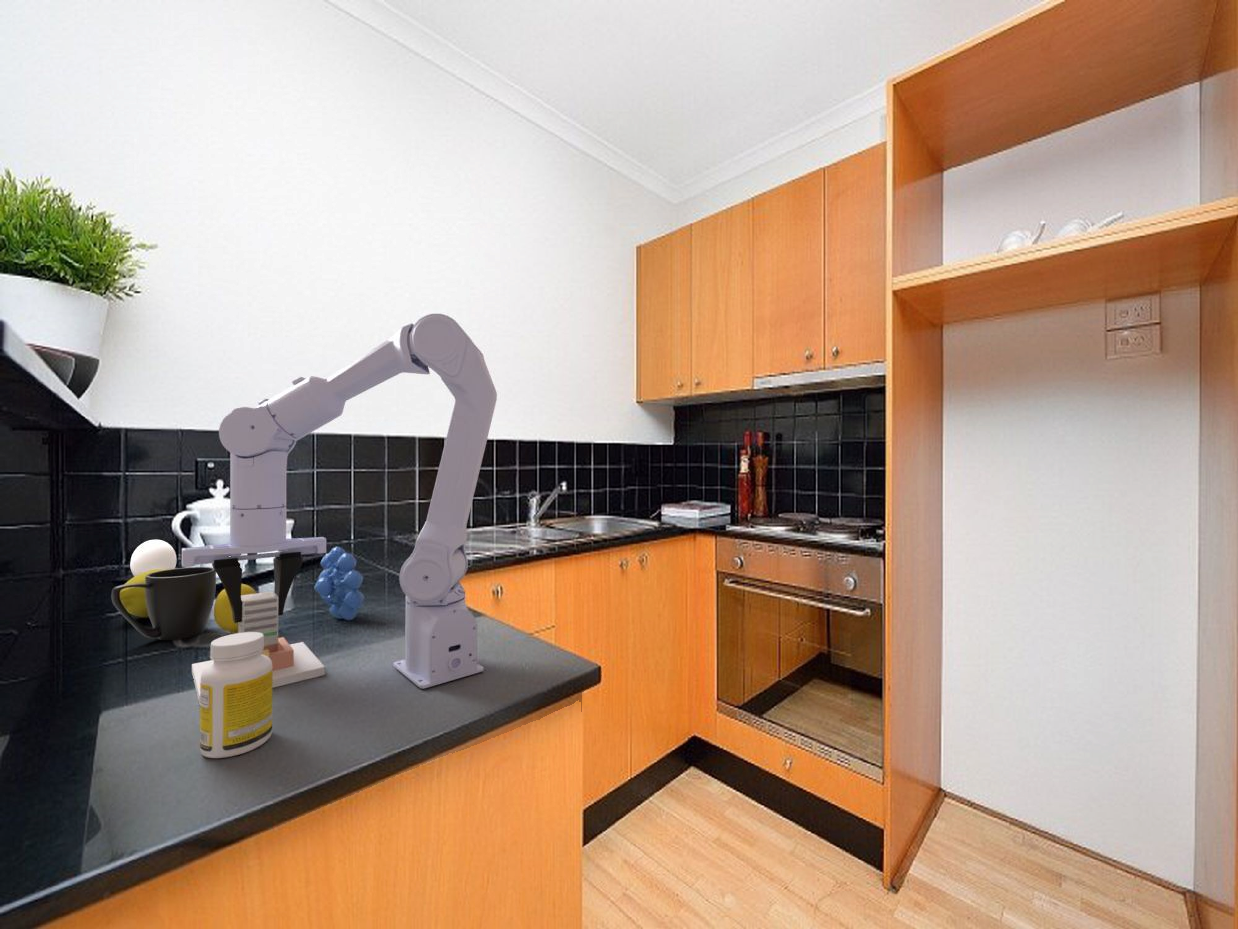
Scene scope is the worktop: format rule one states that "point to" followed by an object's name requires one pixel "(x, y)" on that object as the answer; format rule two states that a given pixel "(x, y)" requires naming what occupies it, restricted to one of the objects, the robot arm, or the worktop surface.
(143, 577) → the lemon
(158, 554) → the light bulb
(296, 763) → the worktop surface
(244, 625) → the column
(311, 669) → the stand base
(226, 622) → the lemon
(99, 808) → the worktop surface
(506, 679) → the worktop surface
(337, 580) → the grapes
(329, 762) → the worktop surface
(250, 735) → the supplement bottle
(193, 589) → the mug
